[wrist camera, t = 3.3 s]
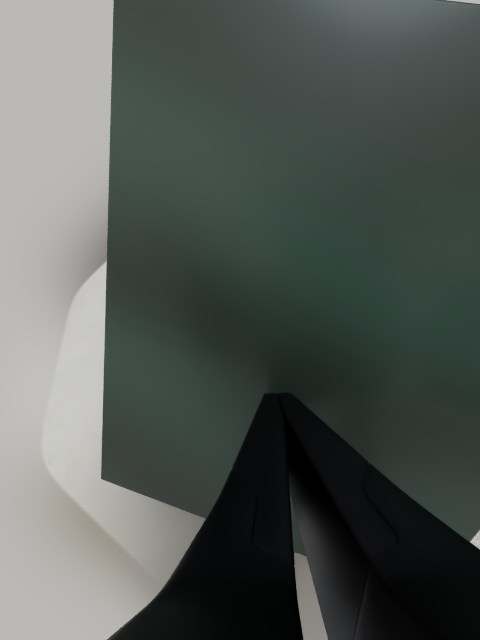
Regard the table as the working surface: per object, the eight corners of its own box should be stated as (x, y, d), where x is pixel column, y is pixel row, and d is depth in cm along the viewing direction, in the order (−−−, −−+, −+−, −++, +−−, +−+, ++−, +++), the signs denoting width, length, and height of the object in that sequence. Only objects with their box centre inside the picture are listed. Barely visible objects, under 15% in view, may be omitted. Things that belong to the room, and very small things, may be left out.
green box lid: (133, -12, 7) (113, -39, 6) (797, 70, 5) (877, 47, 5) (112, 464, 13) (100, 479, 12) (415, 576, 11) (422, 601, 11)
